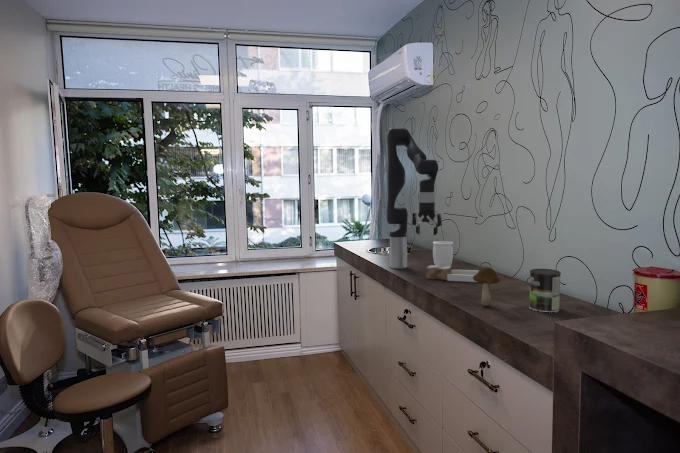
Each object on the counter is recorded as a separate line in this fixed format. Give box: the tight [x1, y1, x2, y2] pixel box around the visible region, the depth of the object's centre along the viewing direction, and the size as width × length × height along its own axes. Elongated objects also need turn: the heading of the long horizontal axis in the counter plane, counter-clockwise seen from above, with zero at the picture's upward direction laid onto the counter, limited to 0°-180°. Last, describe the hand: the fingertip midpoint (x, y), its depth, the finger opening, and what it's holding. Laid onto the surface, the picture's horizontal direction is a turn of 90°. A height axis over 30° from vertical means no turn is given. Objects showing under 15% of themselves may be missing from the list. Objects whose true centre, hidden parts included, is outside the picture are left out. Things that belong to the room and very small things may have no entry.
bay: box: [446, 269, 479, 283], centre depth 220 cm, size 15×12×3 cm
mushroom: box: [473, 266, 501, 307], centre depth 173 cm, size 9×11×15 cm
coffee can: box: [528, 268, 562, 314], centre depth 167 cm, size 10×10×14 cm
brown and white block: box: [425, 264, 452, 281], centre depth 223 cm, size 11×7×6 cm, turn 65°
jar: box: [432, 240, 454, 267], centre depth 240 cm, size 11×10×15 cm
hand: (426, 234), depth 222 cm, fingers open, 8 cm apart
